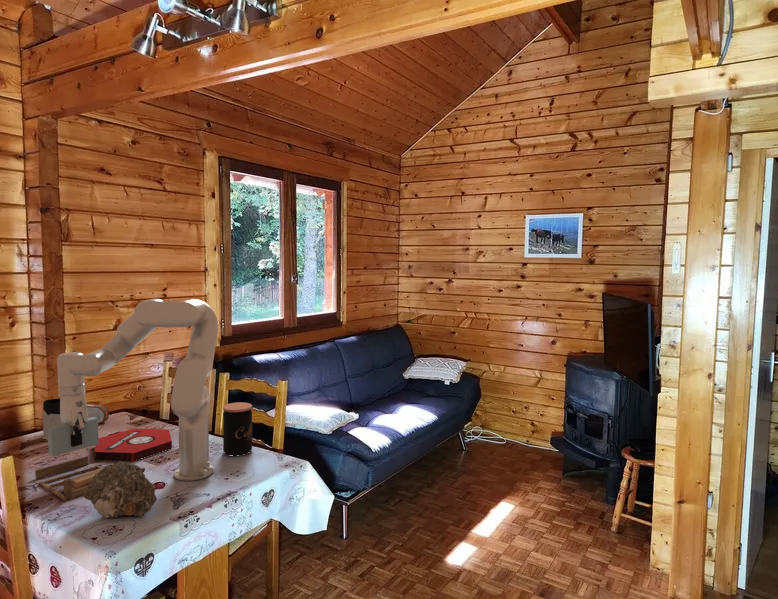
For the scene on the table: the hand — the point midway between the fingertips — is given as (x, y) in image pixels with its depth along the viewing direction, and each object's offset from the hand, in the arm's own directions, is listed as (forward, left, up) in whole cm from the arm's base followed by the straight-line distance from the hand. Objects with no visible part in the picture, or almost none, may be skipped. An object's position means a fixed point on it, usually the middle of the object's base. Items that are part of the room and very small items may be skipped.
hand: (74, 443), depth 168 cm
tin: (+57, -30, -12) cm, 66 cm away
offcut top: (-11, 0, -10) cm, 15 cm away
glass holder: (+48, -15, -12) cm, 52 cm away
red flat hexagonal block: (+12, -26, -12) cm, 31 cm away
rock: (-37, 0, -12) cm, 38 cm away
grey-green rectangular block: (0, 0, -2) cm, 2 cm away
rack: (-3, 0, -12) cm, 12 cm away
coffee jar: (-23, -48, -12) cm, 55 cm away
